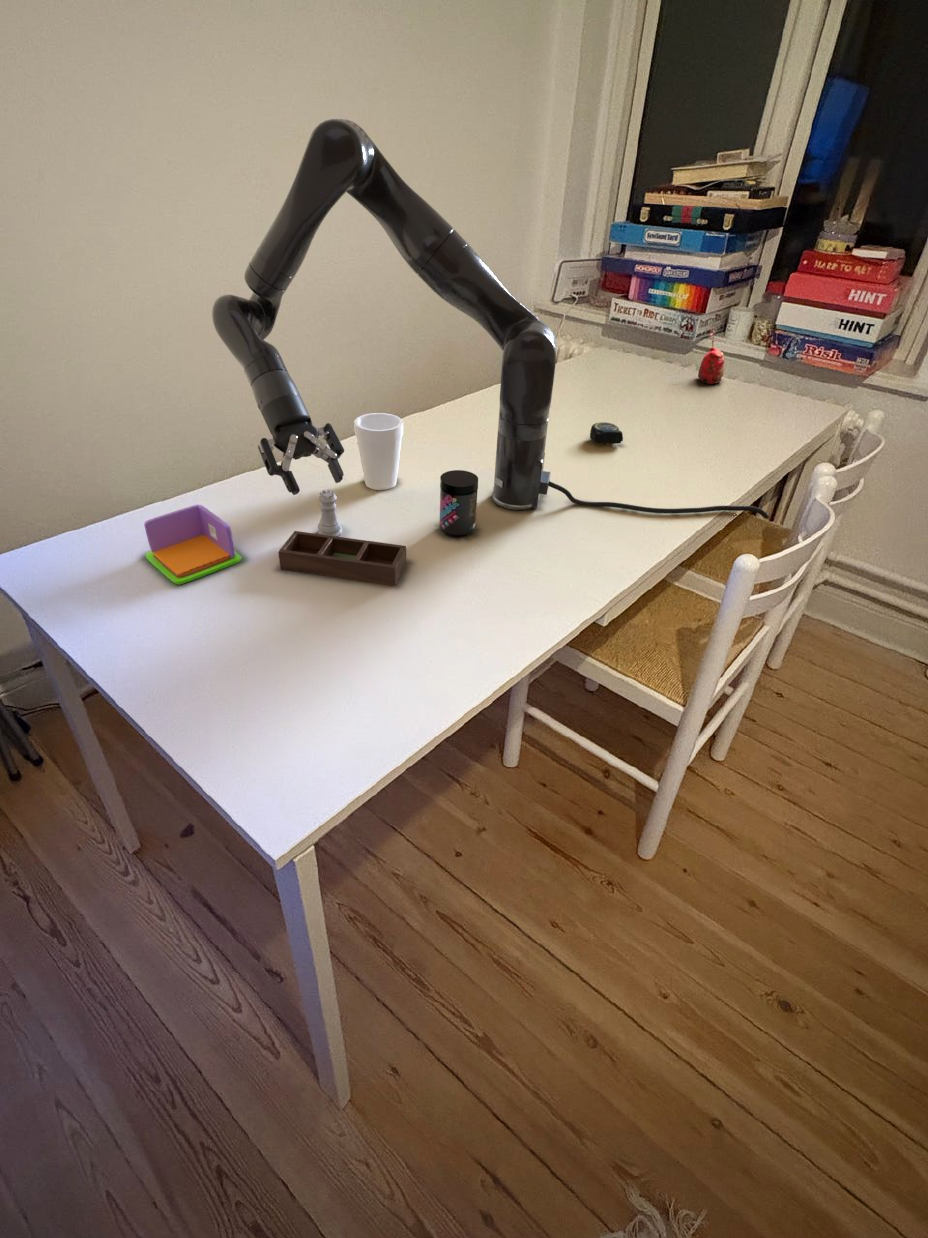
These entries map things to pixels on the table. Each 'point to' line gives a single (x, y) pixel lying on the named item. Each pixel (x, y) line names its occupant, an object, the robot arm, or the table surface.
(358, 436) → the foam cup
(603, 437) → the tape measure
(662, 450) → the table surface
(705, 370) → the red clay folk toy
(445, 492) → the supplement container
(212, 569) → the toy room diorama
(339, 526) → the rook chess piece
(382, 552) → the compartment tray
